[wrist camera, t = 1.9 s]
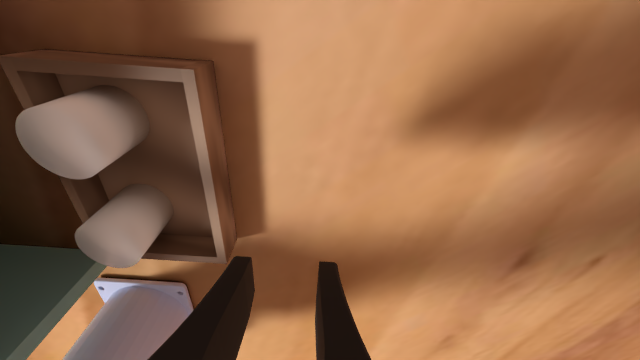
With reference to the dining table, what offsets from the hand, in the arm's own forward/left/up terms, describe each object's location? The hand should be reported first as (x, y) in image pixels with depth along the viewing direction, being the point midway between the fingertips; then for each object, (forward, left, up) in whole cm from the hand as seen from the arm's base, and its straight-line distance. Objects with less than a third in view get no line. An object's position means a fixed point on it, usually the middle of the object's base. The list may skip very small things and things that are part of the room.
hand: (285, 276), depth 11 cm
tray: (0, +10, -8) cm, 13 cm away
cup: (-3, +11, -8) cm, 14 cm away
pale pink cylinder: (+3, +11, -8) cm, 14 cm away
